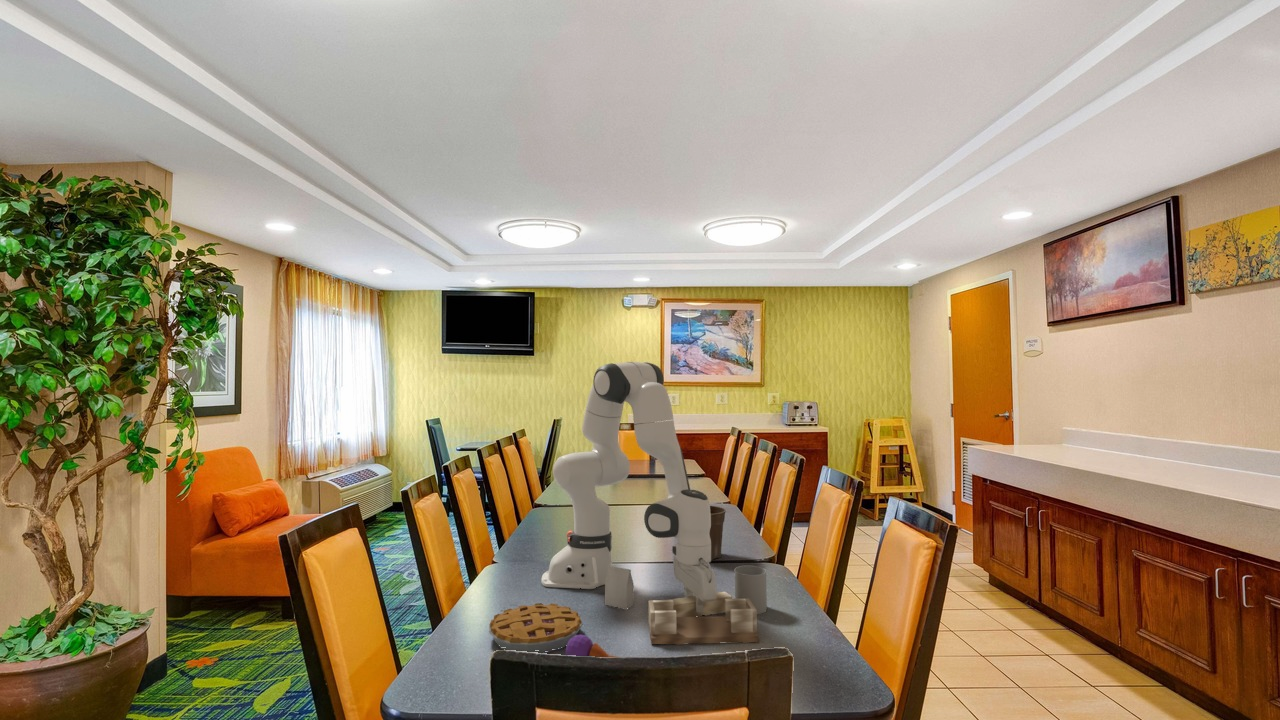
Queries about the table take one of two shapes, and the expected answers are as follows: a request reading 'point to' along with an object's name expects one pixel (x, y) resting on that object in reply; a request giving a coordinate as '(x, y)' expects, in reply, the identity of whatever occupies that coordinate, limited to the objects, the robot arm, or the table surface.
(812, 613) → the table surface
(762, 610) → the cup
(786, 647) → the table surface
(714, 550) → the plant pot
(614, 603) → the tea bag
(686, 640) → the endcap rack
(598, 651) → the ice cream cone
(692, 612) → the slat
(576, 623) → the pie
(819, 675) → the table surface
